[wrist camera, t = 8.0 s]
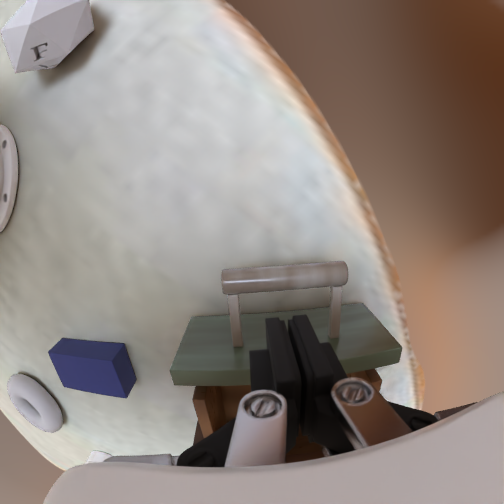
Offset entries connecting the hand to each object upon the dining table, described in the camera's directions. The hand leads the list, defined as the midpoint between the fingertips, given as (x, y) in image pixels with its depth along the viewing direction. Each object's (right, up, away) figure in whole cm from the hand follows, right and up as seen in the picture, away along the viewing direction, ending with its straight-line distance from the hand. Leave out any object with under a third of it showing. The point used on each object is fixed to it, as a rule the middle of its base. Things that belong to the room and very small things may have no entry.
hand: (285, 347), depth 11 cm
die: (-19, +24, +5) cm, 31 cm away
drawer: (+1, -5, +11) cm, 12 cm away
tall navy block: (-17, -7, +12) cm, 22 cm away
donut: (-31, -16, +14) cm, 38 cm away
